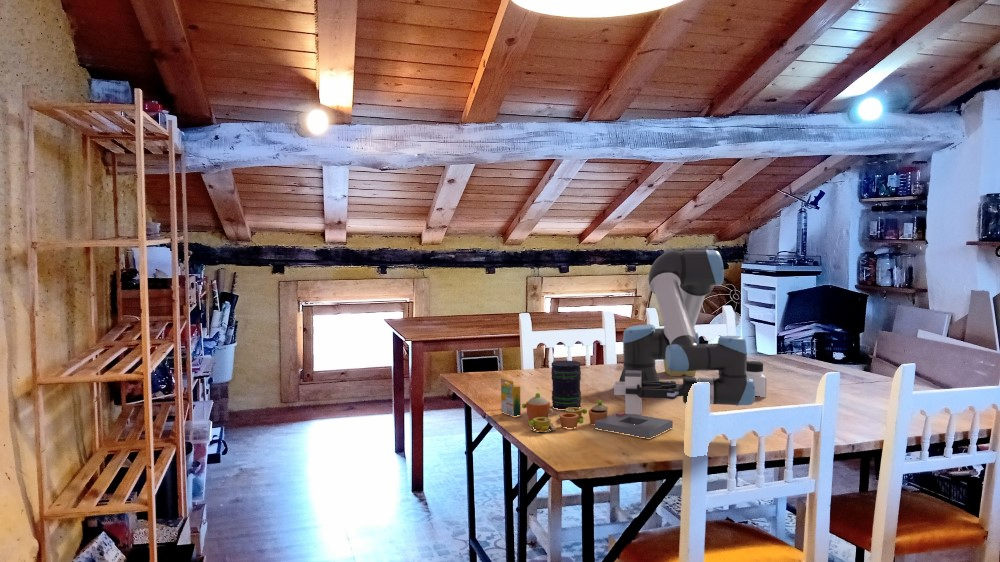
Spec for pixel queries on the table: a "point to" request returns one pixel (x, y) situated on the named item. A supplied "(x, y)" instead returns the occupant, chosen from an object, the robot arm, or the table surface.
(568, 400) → the storage jar
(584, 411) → the toy tea set
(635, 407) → the plug
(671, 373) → the cheese
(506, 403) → the crayon box
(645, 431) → the socket
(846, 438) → the table surface
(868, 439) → the table surface
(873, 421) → the table surface
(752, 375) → the medicine bottle
